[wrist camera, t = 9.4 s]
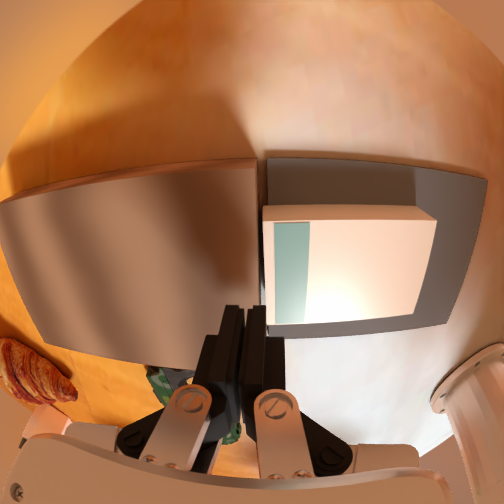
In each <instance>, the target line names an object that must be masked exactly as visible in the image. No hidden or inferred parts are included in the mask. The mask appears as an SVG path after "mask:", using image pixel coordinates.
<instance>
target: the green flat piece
mask: <svg viewBox="0 0 504 504" xmlns="http://www.w3.org/2000/svg"><path fill="white" fill-rule="evenodd" d="M147 369H148V371H147V374H146V377H147V379H148V380H149V382H150V384H151V385H152V387H153V389H154V390H153V392H154V393H155V395H156V396H157V398H158V400H159V401H160V403H162V404H163V405H164V407H166V406H167V404H168V402H169V400H170V398H171V396H172V394H173V393H174V392H175V390H177V389H178V388H180V387H182V386H184V385H188V384H187V382H186V380H187V379H189V378H191V377H194V374H195V371H196V370H187V369H177V368H168V367H160V366H159V368H157V367H155V366H152V365H149V366H148V368H147ZM240 433H241V425H240V423H234V429H230V433H229V434H228V435H226V436H224V437H223V440H222V445H227V444H232V443H234V442H237V441H238V438H240Z"/></svg>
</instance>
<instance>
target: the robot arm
mask: <svg viewBox="0 0 504 504" xmlns="http://www.w3.org/2000/svg"><path fill="white" fill-rule="evenodd" d="M430 405H431V408H432V410H433V412H435V413H438V414H442V413H446V414H447V416H448V419H449V421H450V424H451V427H452V429H453V432H454V435H455V438H456V440H457V443H458V446H459V449H460V452H461V455H462V459H463V462H464V465H465V469H466V472H467V476H468V479H469V483H470V487H471V491H472V496H473V499H474V503H475V504H504V344H502V343H498V344H494V345H491V346H489V347H487V348H485V349H483V350H481V351H480V352H478V353H477V354H475V355H474V356H472V357H471V358H470V359H468V360H467V361H466V362H464V363H463V364H462V365H461V366H459V367H458V368H457V369H456V370H455V371H454V372H453V373H452V374H451V375H450V376H449V377H447V378H446V379H445V381H444V382H443V383H442V384H441V385H440V386H439V387H438V389H437V390H436V391H435V393H434V395H433V396H432V398H431V402H430ZM241 411H242V418H243V423H245V425H246V433H247V435H248V436H249V437H250V438H251V439H252V440H254V441H255V442H256V449H257V458H258V467H259V475H260V479H253V478H237V477H226V476H217V475H210V474H211V472H212V469H213V466H214V463H215V461H216V458H217V455H218V452H219V449H220V447H221V444H222V440H223V437H224V436H226V435H228V434H229V433H230V429H234V423H239V422H240V414H241ZM0 504H455V502H454V498H453V495H452V492H451V489H450V486H449V484H448V482H447V481H446V479H445V478H444V476H443V475H442V474H440V473H439V472H437V471H434V470H431V469H426V468H419V454H418V451H417V450H416V449H415V448H414V447H413V446H411V445H407V444H358V445H348V444H347V443H346V442H344V441H343V440H341V439H340V438H338V437H336V436H335V435H334V434H332V433H331V432H329V431H328V430H326V429H325V428H323V427H322V426H320V425H319V424H317V423H316V422H315V421H313V420H312V419H310V418H309V417H308V416H306V415H305V414H304V413H302V412H301V411H299V407H298V403H297V400H296V398H295V397H294V396H293V395H292V394H291V393H289V392H287V391H285V345H284V337H269V336H266V305H253V309H248V311H247V318H246V326H245V313H244V308H240V307H239V305H225V309H224V313H223V317H222V321H221V325H220V329H219V333H218V335H210V334H207V335H206V337H205V340H204V343H203V346H202V350H201V353H200V357H199V360H198V364H197V367H196V371H195V374H194V378H193V381H192V384H189V385H184V386H182V387H180V388H178V389H177V390H175V392H174V393H173V394H172V396H171V398H170V400H169V402H168V404H167V406H166V407H164V408H162V409H160V410H158V411H156V412H154V413H152V414H150V415H148V416H146V417H144V418H142V419H140V420H138V421H136V422H134V423H132V424H129V425H127V426H126V427H124V428H118V427H117V426H112V425H101V424H92V423H84V422H73V423H71V424H70V425H69V426H68V427H67V428H66V430H65V433H64V435H62V434H55V433H42V434H36V435H33V436H32V437H30V438H29V439H28V440H27V441H26V442H25V443H24V445H23V446H22V448H21V449H20V451H19V453H18V454H17V457H16V458H15V460H14V462H13V465H12V467H11V469H10V471H9V473H8V476H7V479H6V481H5V484H4V487H3V490H2V493H1V496H0Z"/></svg>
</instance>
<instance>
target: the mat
mask: <svg viewBox="0 0 504 504" xmlns="http://www.w3.org/2000/svg"><path fill="white" fill-rule="evenodd" d="M267 183H268V205H314V204H356V205H401V206H417V207H418V208H420V209H421V210H423V211H424V212H425V213H427V214H428V215H430V216H431V217H433V218H434V219H435V220H437V224H436V229H435V234H434V239H433V244H432V248H431V253H430V257H429V261H428V265H427V269H426V272H425V276H424V280H423V283H422V287H421V290H420V293H419V297H418V300H417V303H416V306H415V309H414V312H413V314H408V315H400V316H392V317H383V318H374V319H364V320H352V321H340V322H325V323H308V324H283V325H269V337H284V339H298V338H322V337H339V336H352V335H364V334H374V333H384V332H392V331H401V330H408V329H415V328H422V327H429V326H435V325H441V324H446V323H447V321H448V319H449V316H450V314H451V312H452V309H453V307H454V305H455V302H456V300H457V297H458V294H459V292H460V289H461V286H462V284H463V281H464V278H465V275H466V272H467V269H468V266H469V263H470V260H471V256H472V253H473V249H474V246H475V242H476V238H477V234H478V230H479V226H480V221H481V217H482V212H483V207H484V201H485V196H486V189H487V183H488V180H486V179H483V178H479V177H474V176H470V175H465V174H459V173H454V172H449V171H443V170H437V169H430V168H424V167H417V166H409V165H401V164H392V163H383V162H372V161H360V160H345V159H325V158H267Z"/></svg>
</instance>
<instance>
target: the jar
mask: <svg viewBox="0 0 504 504" xmlns="http://www.w3.org/2000/svg"><path fill="white" fill-rule="evenodd" d="M71 423H73V422H72V421H71V420H70V418H69V417H68V416H66V415H65V414H63V413H62V412H60V411H59V410H57V409H56V408H54V407H53V406H52V405H50V404H48V403H44V404H43V405H40V406H36V408H35V410H34V412H33V414H32V416H31V418H30V420H29V421H28V424H27V425H26V427H25V429H24V431H23V433H22V437H23V438H22V441H21V443H20V445H19V448H20V449H21V448H22V446H23V445H24V443H25V442H26V441H27V440H28V439H29V438H30V437H32V436H33V435H36V434H42V433H55V434H62V435H64V433H65V430H66V428H67V427H68V426H69V425H70V424H71Z"/></svg>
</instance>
